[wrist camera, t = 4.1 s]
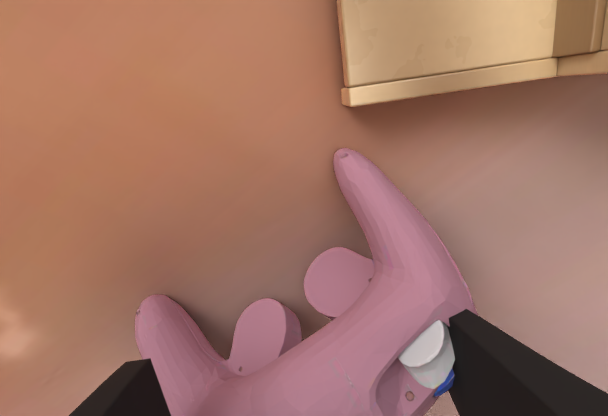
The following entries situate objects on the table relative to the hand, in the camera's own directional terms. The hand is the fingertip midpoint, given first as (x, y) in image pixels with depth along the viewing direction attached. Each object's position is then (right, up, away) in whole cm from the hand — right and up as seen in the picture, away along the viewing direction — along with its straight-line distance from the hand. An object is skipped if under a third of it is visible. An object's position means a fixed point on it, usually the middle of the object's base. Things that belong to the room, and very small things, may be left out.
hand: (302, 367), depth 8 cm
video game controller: (0, +1, +4) cm, 5 cm away
